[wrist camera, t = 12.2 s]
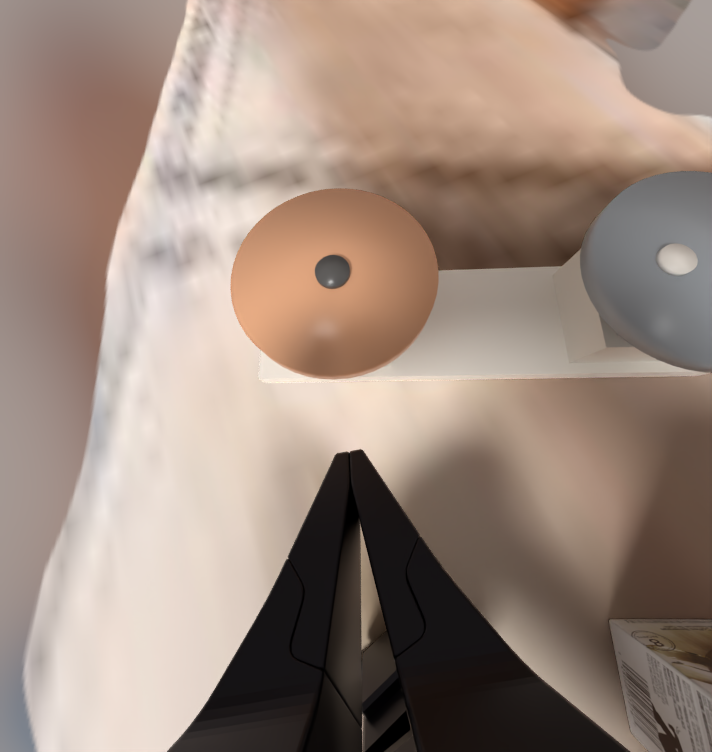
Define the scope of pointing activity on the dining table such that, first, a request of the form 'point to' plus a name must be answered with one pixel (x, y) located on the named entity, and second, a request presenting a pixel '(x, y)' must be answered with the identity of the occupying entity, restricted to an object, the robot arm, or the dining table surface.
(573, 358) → the key console
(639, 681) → the coffee box
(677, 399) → the dining table surface
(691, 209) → the two dot key
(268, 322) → the brown round domed piece
